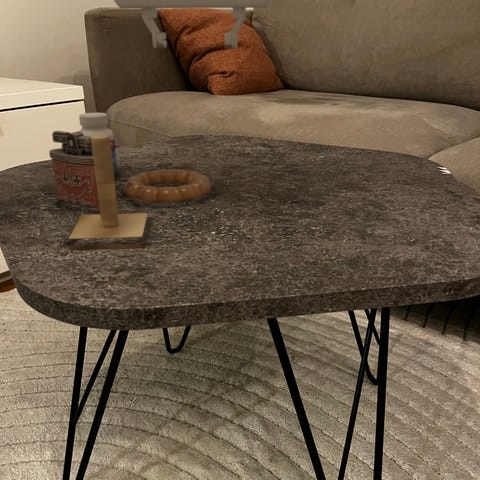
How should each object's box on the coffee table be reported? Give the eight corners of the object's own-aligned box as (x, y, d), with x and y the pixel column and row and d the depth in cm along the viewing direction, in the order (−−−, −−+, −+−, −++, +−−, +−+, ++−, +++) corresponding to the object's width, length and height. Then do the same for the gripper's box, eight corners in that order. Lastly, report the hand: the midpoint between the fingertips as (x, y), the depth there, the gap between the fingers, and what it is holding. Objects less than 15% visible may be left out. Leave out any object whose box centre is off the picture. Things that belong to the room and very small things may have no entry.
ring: (120, 212, 77) (118, 191, 76) (129, 187, 88) (127, 168, 86) (212, 210, 78) (211, 189, 76) (210, 185, 88) (210, 166, 87)
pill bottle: (111, 186, 88) (103, 118, 83) (76, 185, 88) (67, 117, 84) (123, 177, 92) (116, 111, 88) (90, 175, 93) (82, 111, 89)
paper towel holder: (70, 250, 65) (54, 144, 60) (82, 226, 72) (69, 129, 67) (143, 248, 66) (134, 143, 60) (148, 224, 73) (140, 128, 67)
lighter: (115, 211, 77) (106, 133, 73) (97, 218, 75) (87, 137, 70) (70, 202, 81) (59, 126, 76) (51, 209, 78) (39, 131, 74)
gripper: (97, -81, 69) (110, 49, 76) (272, -85, 67) (270, 50, 73) (114, -75, 74) (125, 46, 81) (276, -78, 72) (273, 46, 79)
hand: (195, 48), depth 77 cm, fingers open, 8 cm apart
